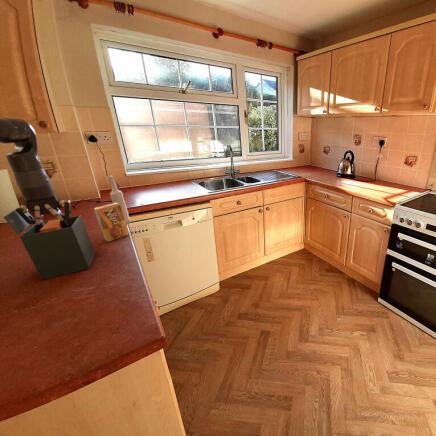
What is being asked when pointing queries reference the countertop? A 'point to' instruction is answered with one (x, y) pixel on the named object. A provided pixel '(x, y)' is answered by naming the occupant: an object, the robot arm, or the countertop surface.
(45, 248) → the dark green open box
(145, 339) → the countertop surface
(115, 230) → the candy box
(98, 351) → the countertop surface
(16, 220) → the flap
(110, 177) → the bottle
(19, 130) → the robot arm
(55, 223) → the orange rectangular block
